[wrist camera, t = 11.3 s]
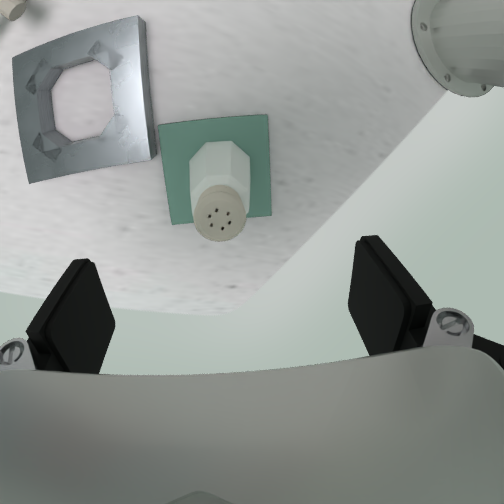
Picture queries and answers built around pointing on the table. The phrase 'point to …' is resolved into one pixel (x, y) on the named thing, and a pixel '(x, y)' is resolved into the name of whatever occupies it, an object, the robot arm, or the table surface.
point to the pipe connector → (12, 8)
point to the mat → (213, 130)
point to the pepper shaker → (220, 190)
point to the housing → (123, 95)
